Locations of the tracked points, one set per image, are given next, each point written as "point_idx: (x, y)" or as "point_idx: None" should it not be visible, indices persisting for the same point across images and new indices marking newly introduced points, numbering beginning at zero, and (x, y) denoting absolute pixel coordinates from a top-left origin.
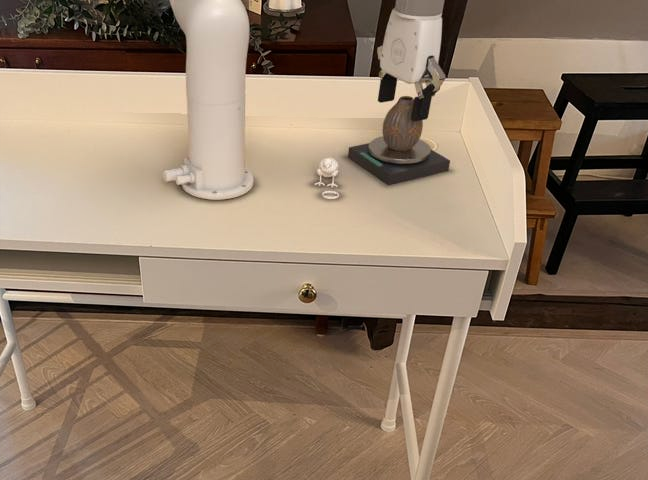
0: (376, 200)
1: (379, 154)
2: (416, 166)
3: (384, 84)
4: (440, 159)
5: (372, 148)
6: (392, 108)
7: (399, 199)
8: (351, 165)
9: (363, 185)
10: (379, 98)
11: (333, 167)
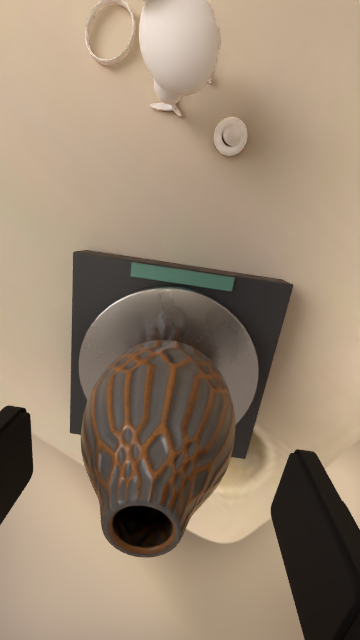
0: (25, 153)
1: (158, 292)
2: (80, 348)
3: (336, 568)
4: None
5: (207, 306)
6: (186, 437)
7: (6, 215)
8: (238, 253)
9: (119, 190)
10: (309, 463)
11: (139, 27)
